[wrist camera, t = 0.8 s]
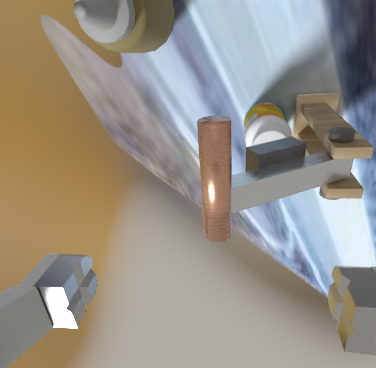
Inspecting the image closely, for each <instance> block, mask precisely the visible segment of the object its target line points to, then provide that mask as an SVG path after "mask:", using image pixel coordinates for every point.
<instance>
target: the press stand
mask: <svg viewBox="0 0 376 368" xmlns="http://www.w3.org/2000/svg"><path fill="white" fill-rule="evenodd" d="M339 99H340V94H339V93H338V92H331V93H310V94H296V103H295V113H294V122H293V132H292V137H294V138H297V139H299V140H301V141H304V142H306V143H307V144H306V152H305V156H308V155H311V154H315V153H319V152H323V151H326V150H328V152H329V153H330V155H331V156H332V157H333V159H351V158H371V157H372V153H373V149H374V147H373V146H372V145H371V144H370V143H369V142H368V141H367V140H366V139H365V138H364V137H362V136H361V135H360V134H359V133H358V132H357V131H356V130H355V129H354V128H353V127H352V126H351V125H349V124H348V123H347V122H346V121H345V120H344V119H343V118H342V117H341V116H340V115H339V114H338V113H337V110H338V104H339ZM363 190H364V189H363V187H362V186H361V185H360V183H359V182H358V181H357V179H356V178H355V177H354V175H353V174H352V173H350V177H348V178H345V179H342V180H338V181H335V182H332V183H329V184H325V185H322V186H320V193H319V194H320V195H321V196H322V197H323V198H326V199H330V200H337V199H340V198H362V194H363Z"/></svg>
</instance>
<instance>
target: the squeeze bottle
mask: <svg viewBox="0 0 376 368" xmlns="http://www.w3.org/2000/svg"><path fill="white" fill-rule="evenodd" d="M74 14H75V15H76V17H77V18H78V21H79V24H80V26H81V27H82V28H83V30H84V31H85V33H86V34H87V35H88V36H90V37H91V38H92V40H93V41H94V42H96V43H97V44H98V45H100V46H101V47H103V48H104V49H106V50H110V51H114V52H118V53H145V52H150V51H155V50H156V49H158V48H159V47H160V46H162V45H163V44H164V43H165V42H166V41H167V39H168V37H169V35H170V34H171V32H172V30H173V24H174V18H175V11H174V5H173V0H76V3H75V5H74Z"/></svg>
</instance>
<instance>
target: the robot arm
mask: <svg viewBox="0 0 376 368" xmlns="http://www.w3.org/2000/svg"><path fill="white" fill-rule="evenodd" d="M92 265H93V262H92V259H91V257H90V256H88V255H76V254H58V253H49V254H46V255H45V256H44V257H43V258H42V260H41V261H40V262H39V263H38V264H37V265H36V267H34V269H33V270H32V271H31V272H30V273H29V274H28V275H27V277H26V278H25V279H24V280H23V281H22V282H21V284H20V285H19V286H13V287H11V288H9V289H7V290H5V291H3V292H2V293H0V368H7V367H8V366H9V365H10V364H11V363H13V362H14V361H15V360H16V359H17V358H19V357H20V356H21V355H22V354H23V353H24V352H26V351H27V350H28V349H29V348H30V347H32V346H33V345H34V344H35V343H36V342H38V341H39V340H40V339H41V338H42V337H43V336H45V335H46V334H47V333H48V332H49V331H51V330H52V329H53V327H67V328H77V327H78V325H79V323H80V321H81V319H82V318H83V316H84V314H85V312H86V308H85V305H86V304H88V303H89V302H91V301H92V300H93V298H94V296H95V294H96V289H97V276H96V273H95V272H94V271H92V269H90V268H91V266H92ZM332 277H333V280H334V283H333V284H332V285H331V286H330V287H329V294H328V296H329V307H330V311H331V314H332V317H333V318H334V319H335V320H336V321H337V322H338V323H339V324H338V329H337V331H338V334H339V337H340V340H341V343H342V346H343V349H344V351H345V352H353V353H361V354H370V355H376V267H354V266H335V267H334V268H333V272H332Z"/></svg>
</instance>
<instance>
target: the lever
mask: <svg viewBox="0 0 376 368" xmlns="http://www.w3.org/2000/svg"><path fill="white" fill-rule="evenodd" d="M197 127H198V143H199V159H200V175H201V190H202V206H203V222H204V235H205V237H206V238H207V239H209V240H212V241H216V242H217V241H218V242H220V241H225V240H227V239H228V238H230V237H231V235H232V213H234V212H238V211H241V210H244V209H247V208H251V207H254V206H257V205H260V204H264V203H267V202H270V201H273V200H277V199H280V198H283V197H286V196H290V195H293V194H296V193H299V192H303V191H306V190H309V189H312V188H316V187H319V186H322V185H325V184H329V183H332V182H335V181H338V180H342V179H345V178H348V177H350V173H351V168H352V164H353V159H354V158H351V159H333V157H332V156H331V155H330V153H329V152H328V150H326V151H323V152H319V153H315V154H311V155H308V156H305V152H306V144H307V143H306V142H304V141H301V140H299V139H297V138H294V137H292V136H291V137H287V138H283V139H279V140H274V141H270V142H266V143H262V144H258V145H253V146H249V147H246V172H244V173H240V174H236V175H232V171H231V119H230V118H229V117H226V116H208V117H203V118H201V119H199V120H198V121H197Z"/></svg>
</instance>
